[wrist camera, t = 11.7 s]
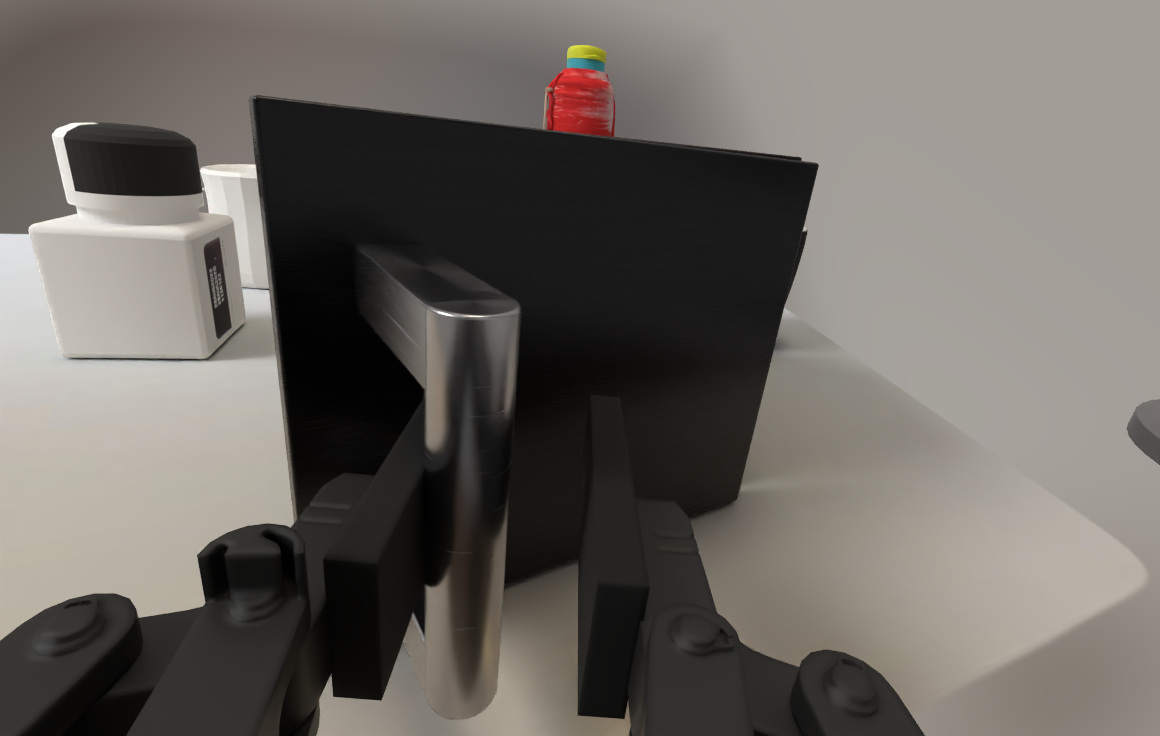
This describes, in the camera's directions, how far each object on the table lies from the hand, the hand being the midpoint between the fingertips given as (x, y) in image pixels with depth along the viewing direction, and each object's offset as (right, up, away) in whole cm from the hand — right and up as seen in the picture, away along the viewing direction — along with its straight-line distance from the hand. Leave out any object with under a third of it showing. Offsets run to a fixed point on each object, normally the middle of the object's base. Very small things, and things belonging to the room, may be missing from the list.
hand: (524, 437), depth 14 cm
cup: (-28, +10, +39) cm, 49 cm away
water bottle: (-2, +15, +58) cm, 59 cm away
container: (-26, +4, +23) cm, 35 cm away
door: (+2, -6, +5) cm, 8 cm away
